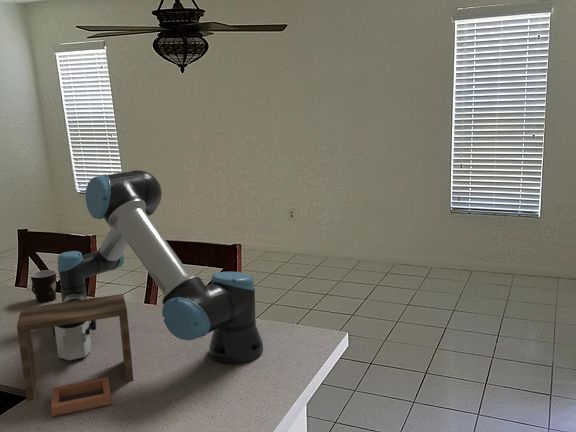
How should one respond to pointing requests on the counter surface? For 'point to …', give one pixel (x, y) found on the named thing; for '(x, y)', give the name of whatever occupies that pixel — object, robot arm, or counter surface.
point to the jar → (72, 341)
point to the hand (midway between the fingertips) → (74, 339)
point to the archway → (68, 315)
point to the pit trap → (80, 396)
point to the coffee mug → (44, 285)
